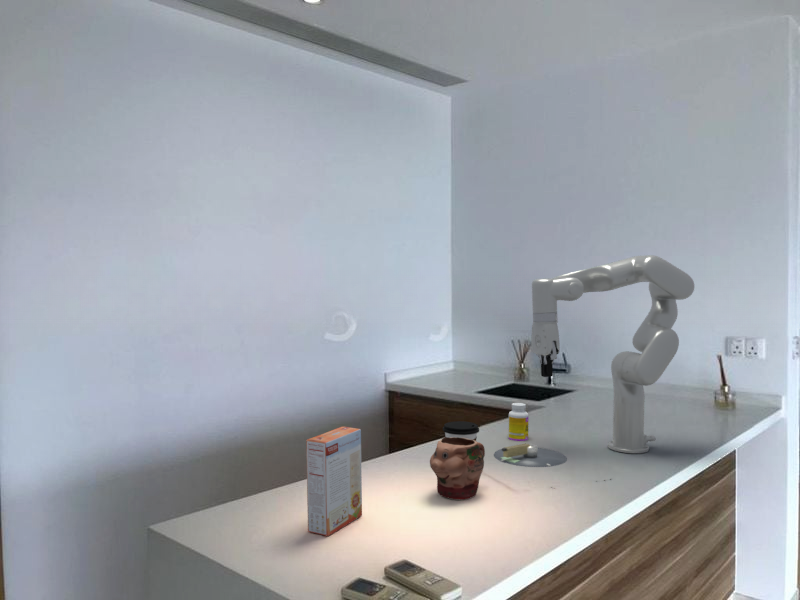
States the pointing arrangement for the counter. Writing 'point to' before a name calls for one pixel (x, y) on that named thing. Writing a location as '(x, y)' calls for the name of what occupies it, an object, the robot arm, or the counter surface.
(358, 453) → the cracker box
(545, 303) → the robot arm
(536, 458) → the dial
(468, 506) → the counter surface
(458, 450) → the decorative planter
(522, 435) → the supplement bottle
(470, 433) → the coffee cup
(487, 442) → the counter surface
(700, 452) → the counter surface
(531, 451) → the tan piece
